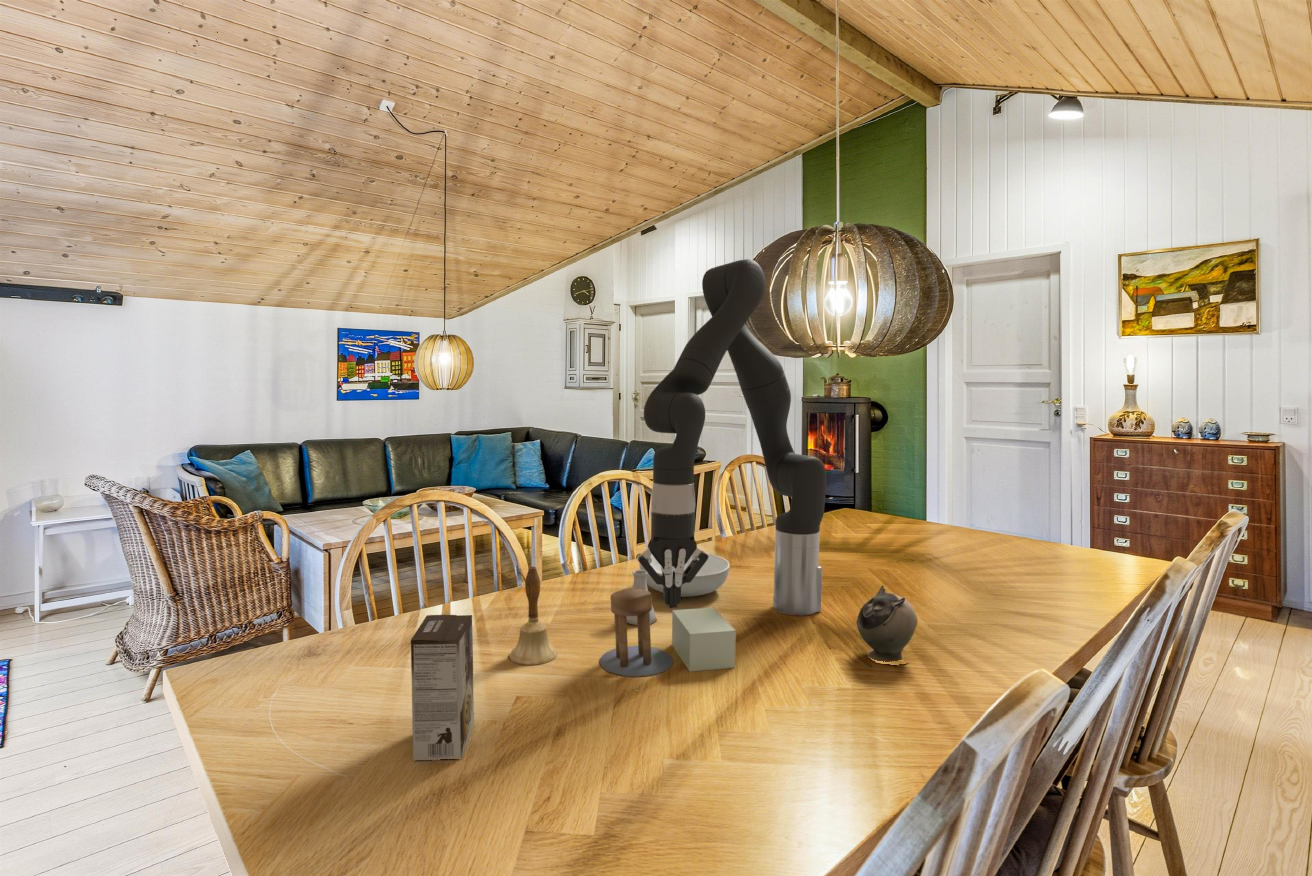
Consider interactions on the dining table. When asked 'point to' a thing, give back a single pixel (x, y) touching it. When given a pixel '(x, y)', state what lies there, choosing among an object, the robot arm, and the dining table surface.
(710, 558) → the serving bowl
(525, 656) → the hand bell
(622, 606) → the stool
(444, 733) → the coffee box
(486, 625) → the dining table surface
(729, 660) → the box
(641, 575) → the flask
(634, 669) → the mat
